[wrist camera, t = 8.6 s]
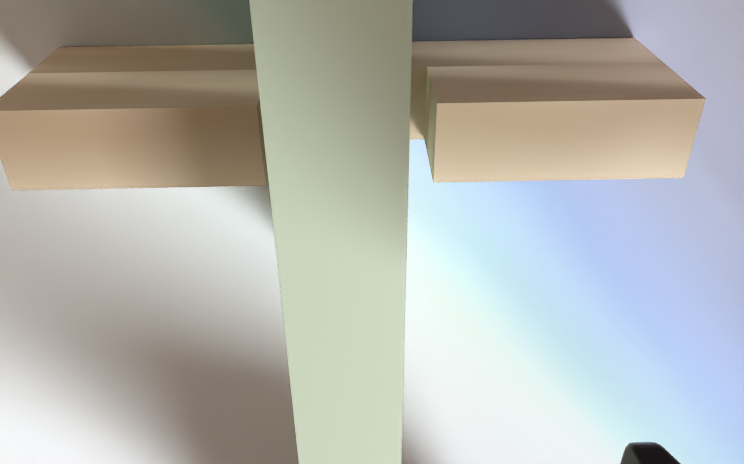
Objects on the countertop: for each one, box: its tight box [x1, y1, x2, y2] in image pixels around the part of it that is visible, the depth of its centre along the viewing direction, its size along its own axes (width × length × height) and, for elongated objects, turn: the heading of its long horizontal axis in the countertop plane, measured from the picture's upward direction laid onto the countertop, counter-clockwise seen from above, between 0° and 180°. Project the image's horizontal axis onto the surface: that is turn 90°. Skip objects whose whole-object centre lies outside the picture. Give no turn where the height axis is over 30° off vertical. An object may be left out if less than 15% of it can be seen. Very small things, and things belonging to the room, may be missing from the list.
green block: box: [249, 0, 413, 464], centre depth 15 cm, size 14×2×10 cm, turn 0°
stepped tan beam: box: [0, 38, 705, 190], centre depth 17 cm, size 2×16×4 cm, turn 91°
